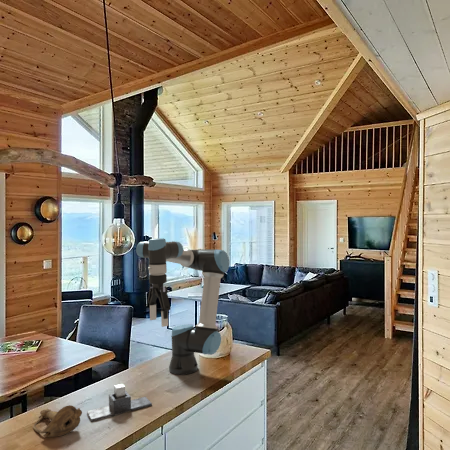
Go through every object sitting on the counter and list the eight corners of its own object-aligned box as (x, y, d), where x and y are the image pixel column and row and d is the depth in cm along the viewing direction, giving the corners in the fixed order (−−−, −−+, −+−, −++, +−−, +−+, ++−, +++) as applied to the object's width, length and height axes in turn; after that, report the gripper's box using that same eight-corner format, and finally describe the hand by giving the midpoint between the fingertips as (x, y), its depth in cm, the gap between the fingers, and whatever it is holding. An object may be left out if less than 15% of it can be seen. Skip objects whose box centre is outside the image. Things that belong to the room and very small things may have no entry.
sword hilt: (41, 428, 144) (78, 400, 154) (16, 407, 161) (51, 382, 171) (52, 450, 147) (88, 421, 156) (27, 427, 163) (60, 401, 173)
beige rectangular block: (123, 406, 173) (122, 383, 173) (125, 410, 170) (125, 386, 170) (114, 409, 171) (114, 385, 171) (117, 412, 168) (116, 388, 168)
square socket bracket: (145, 398, 180) (145, 385, 180) (151, 405, 174) (151, 391, 174) (87, 413, 167) (86, 399, 167) (91, 421, 161) (91, 406, 161)
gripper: (139, 271, 185) (140, 318, 185) (160, 278, 163) (161, 330, 164) (155, 270, 189) (156, 316, 189) (177, 276, 167) (178, 327, 168)
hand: (158, 322), depth 176 cm, fingers open, 13 cm apart
